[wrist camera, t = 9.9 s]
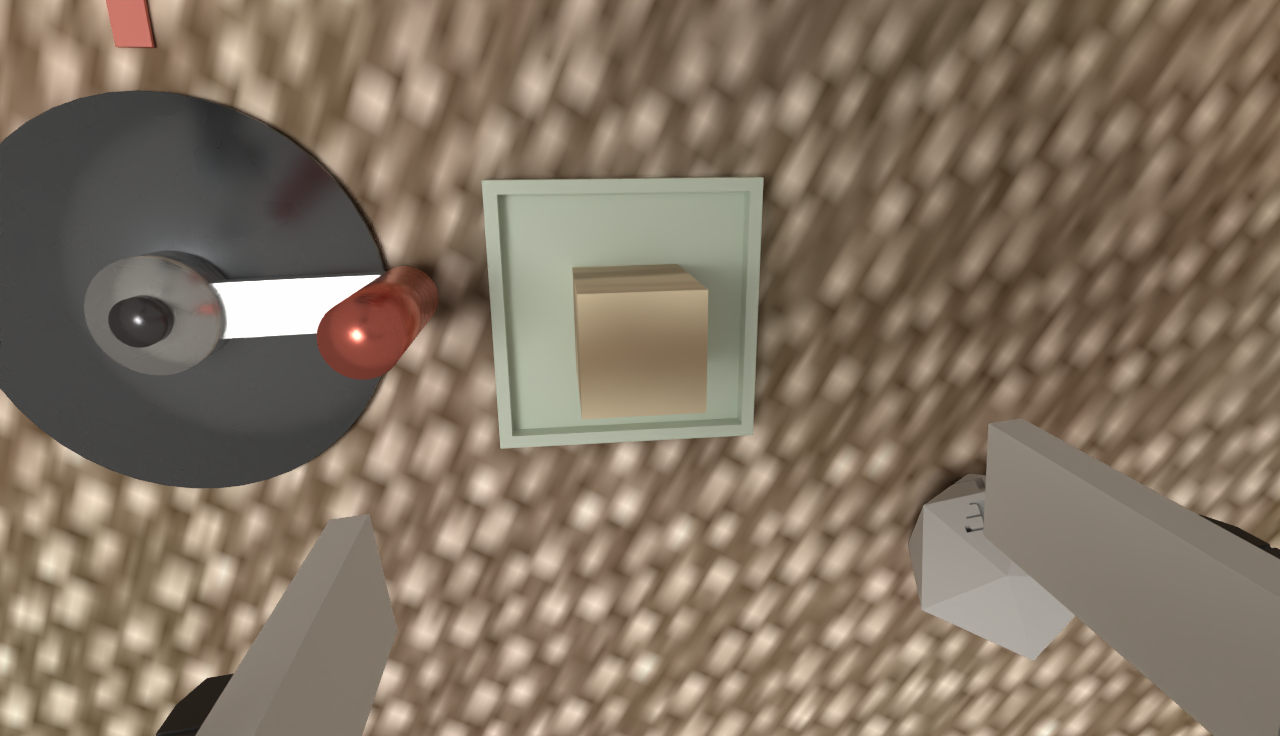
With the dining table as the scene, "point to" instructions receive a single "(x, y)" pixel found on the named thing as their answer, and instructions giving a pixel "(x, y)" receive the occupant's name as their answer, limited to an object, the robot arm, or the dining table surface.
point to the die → (979, 575)
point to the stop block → (640, 340)
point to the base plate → (174, 209)
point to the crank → (263, 312)
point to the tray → (617, 236)
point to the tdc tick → (130, 23)
